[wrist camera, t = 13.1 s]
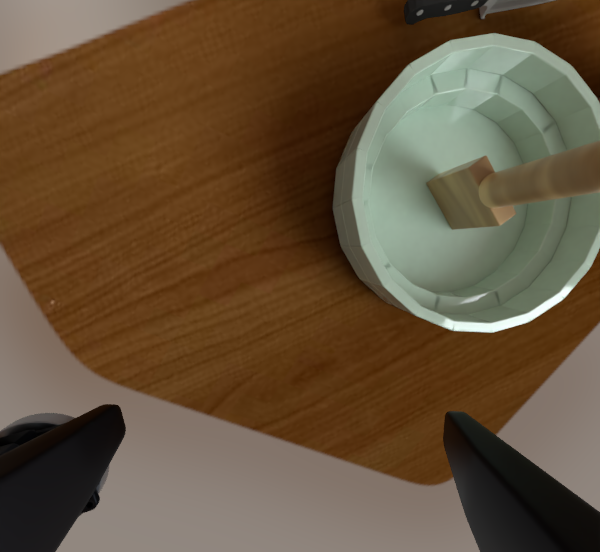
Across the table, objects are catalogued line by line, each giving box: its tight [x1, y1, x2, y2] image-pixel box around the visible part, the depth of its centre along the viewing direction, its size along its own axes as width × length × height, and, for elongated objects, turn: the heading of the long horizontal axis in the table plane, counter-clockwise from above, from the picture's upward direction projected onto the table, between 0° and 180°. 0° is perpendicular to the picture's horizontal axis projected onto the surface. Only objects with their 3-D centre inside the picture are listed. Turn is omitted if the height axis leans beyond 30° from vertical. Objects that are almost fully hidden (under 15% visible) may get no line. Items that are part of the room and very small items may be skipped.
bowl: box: [333, 33, 600, 333], centre depth 18 cm, size 15×15×4 cm
